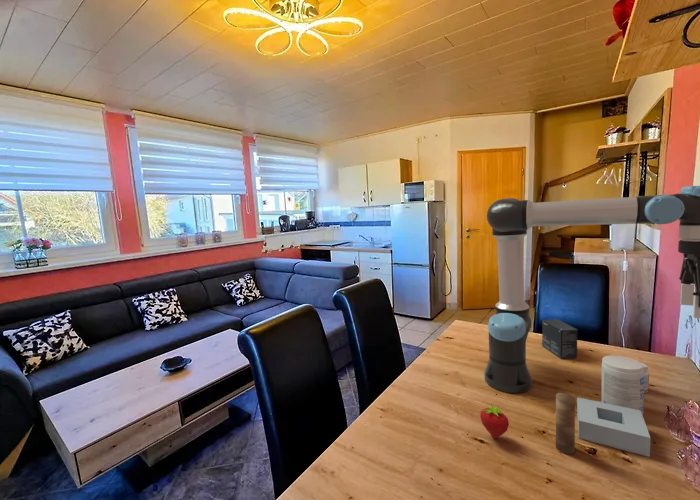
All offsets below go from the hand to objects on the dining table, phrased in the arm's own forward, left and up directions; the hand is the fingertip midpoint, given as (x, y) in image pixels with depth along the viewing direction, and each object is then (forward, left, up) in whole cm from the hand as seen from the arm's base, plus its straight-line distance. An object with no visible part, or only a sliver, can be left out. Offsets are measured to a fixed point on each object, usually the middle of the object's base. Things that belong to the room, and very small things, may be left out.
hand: (693, 311), depth 95 cm
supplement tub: (-17, -15, -28) cm, 36 cm away
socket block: (-21, -29, -28) cm, 45 cm away
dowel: (-31, -41, -28) cm, 58 cm away
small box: (-33, +21, -28) cm, 49 cm away
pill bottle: (-11, 0, -28) cm, 30 cm away
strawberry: (-47, -45, -28) cm, 71 cm away
